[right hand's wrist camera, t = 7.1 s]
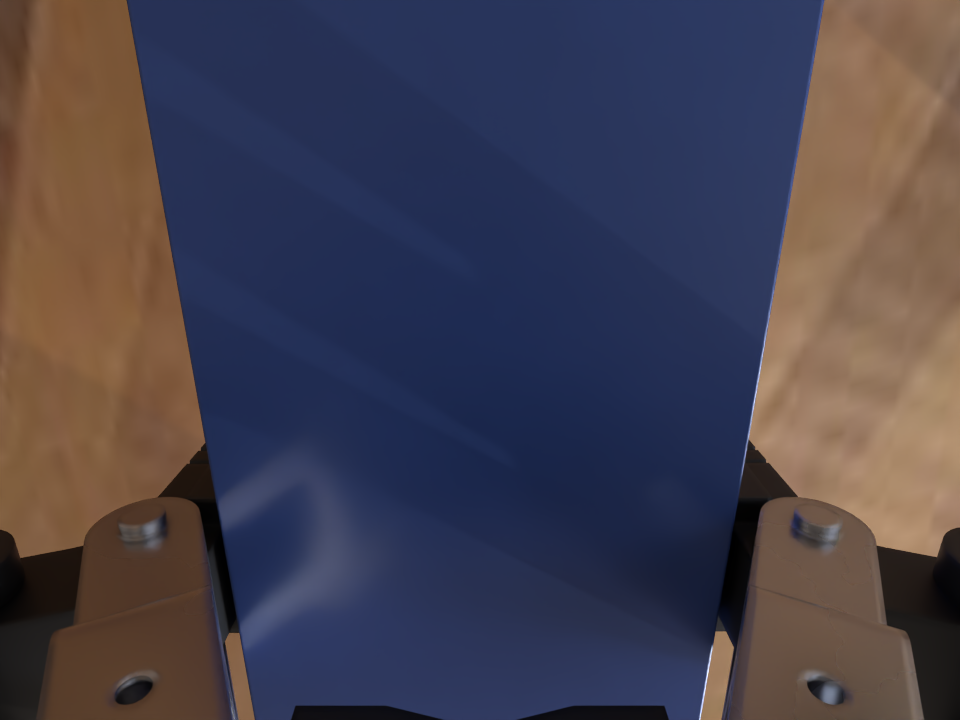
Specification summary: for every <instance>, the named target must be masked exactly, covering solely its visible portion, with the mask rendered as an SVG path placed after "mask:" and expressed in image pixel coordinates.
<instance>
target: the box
mask: <svg viewBox="0 0 960 720" xmlns="http://www.w3.org/2000/svg"><path fill="white" fill-rule="evenodd" d="M127 4H128V10H129V16H130V21H131V27H132V33H133V38H134V44H135V49H136V55H137V61H138V66H139V72H140V77H141V83H142V89H143V94H144V100H145V105H146V111H147V117H148V122H149V128H150V134H151V139H152V145H153V150H154V156H155V162H156V167H157V173H158V178H159V184H160V190H161V195H162V201H163V206H164V212H165V218H166V223H167V229H168V235H169V240H170V246H171V251H172V257H173V263H174V268H175V274H176V279H177V285H178V291H179V296H180V302H181V307H182V313H183V319H184V324H185V330H186V336H187V341H188V347H189V352H190V358H191V364H192V369H193V375H194V380H195V386H196V392H197V397H198V403H199V408H200V414H201V420H202V425H203V431H204V437H205V442H206V448H207V453H208V459H209V465H210V470H211V476H212V481H213V487H214V493H215V498H216V504H217V509H218V515H219V521H220V526H221V532H222V538H223V543H224V549H225V554H226V560H227V566H228V571H229V577H230V582H231V588H232V594H233V599H234V605H235V610H236V616H237V622H238V627H239V633H240V639H241V644H242V650H243V655H244V661H245V667H246V672H247V678H248V683H249V689H250V695H251V700H252V706H253V711H254V717H255V720H291V718H292V715H293V712H294V709H295V706H390V707H394V708H398V709H402V710H406V711H410V712H414V713H418V714H423V715H427V716H431V717H435V718H439V719H443V720H517V719H521V718H525V717H529V716H533V715H537V714H542V713H546V712H550V711H554V710H558V709H562V708H566V707H570V706H665V709H666V712H667V715H668V718H669V720H700V718H701V712H702V706H703V701H704V695H705V689H706V683H707V677H708V672H709V666H710V660H711V654H712V648H713V643H714V637H715V631H716V625H717V619H718V614H719V608H720V602H721V596H722V590H723V585H724V579H725V573H726V567H727V561H728V556H729V550H730V544H731V538H732V532H733V527H734V521H735V515H736V509H737V503H738V498H739V492H740V486H741V480H742V474H743V469H744V463H745V457H746V451H747V445H748V440H749V434H750V428H751V422H752V416H753V411H754V405H755V399H756V393H757V387H758V382H759V376H760V370H761V364H762V358H763V353H764V347H765V341H766V335H767V329H768V324H769V318H770V312H771V306H772V300H773V295H774V289H775V283H776V277H777V271H778V266H779V260H780V254H781V248H782V242H783V237H784V231H785V225H786V219H787V213H788V208H789V202H790V196H791V190H792V184H793V179H794V173H795V167H796V161H797V155H798V150H799V144H800V138H801V132H802V126H803V121H804V115H805V109H806V103H807V97H808V92H809V86H810V80H811V74H812V68H813V63H814V57H815V51H816V45H817V39H818V34H819V28H820V22H821V16H822V10H823V5H824V0H127Z"/></svg>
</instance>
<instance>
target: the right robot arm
mask: <svg viewBox="0 0 960 720" xmlns="http://www.w3.org/2000/svg"><path fill="white" fill-rule="evenodd" d="M716 631H726V632H727V634H728V636H729V638H730V640H731V642H732V644H733V646H734V650H733V656H732V661H731V666H730V672H729V678H728V684H727V690H726V696H725V702H724V708H723V714H722V720H960V528H955V529H952V530H950V531H948V532H947V533H946V534H945V536H944V537H943V540H942V543H941V547H940V550H939V553H938V556H937V557H932V556H927V555H922V554H916V553H911V552H906V551H901V550H895V549H890V548H885V547H880V546H876V540H875V536H874V534H873V533H872V531H871V530H870V529H869V527H868V526H867V525H866V524H865V523H863V522H862V521H861V520H860V519H858V518H857V517H855V516H854V515H852V514H851V513H849V512H847V511H845V510H843V509H841V508H839V507H836V506H834V505H831V504H828V503H825V502H822V501H818V500H813V499H808V498H801V497H798V496H797V495H796V494H795V493H794V492H793V490H792V489H791V488H790V487H789V486H788V485H787V483H786V482H785V481H784V480H783V479H782V478H781V477H780V475H779V474H778V473H777V472H776V471H775V470H774V468H773V467H772V466H771V465H770V464H769V463H766V459H765V458H764V457H763V456H762V455H761V453H760V452H759V451H758V450H755V446H754V445H753V444H752V443H751V442H750V441H749V440H748V445H747V451H746V457H745V463H744V469H743V474H742V480H741V486H740V492H739V498H738V503H737V509H736V515H735V521H734V527H733V532H732V538H731V544H730V550H729V556H728V561H727V567H726V573H725V579H724V585H723V590H722V596H721V602H720V608H719V614H718V619H717V625H716ZM229 633H239V627H238V622H237V616H236V610H235V605H234V599H233V594H232V588H231V582H230V577H229V571H228V566H227V560H226V554H225V549H224V543H223V538H222V532H221V526H220V521H219V515H218V509H217V504H216V498H215V493H214V487H213V481H212V476H211V470H210V465H209V459H208V453H207V448H206V443H205V444H204V445H203V446H202V447H201V451H198V452H197V453H196V454H195V455H194V456H193V458H192V459H191V460H190V464H186V466H185V467H184V468H183V469H182V470H181V471H180V473H179V474H178V475H177V476H176V477H175V478H174V479H173V481H172V482H171V483H170V484H169V485H168V486H167V487H166V489H165V490H164V491H163V492H162V493H161V494H160V495H159V497H158V498H152V499H146V500H142V501H138V502H135V503H132V504H129V505H126V506H124V507H121V508H119V509H117V510H115V511H113V512H111V513H109V514H108V515H106V516H105V517H103V518H102V519H100V520H99V521H98V522H97V523H95V524H94V525H93V526H92V528H91V529H90V530H89V531H88V533H87V534H86V537H85V540H84V546H80V547H76V548H71V549H66V550H61V551H56V552H50V553H45V554H40V555H35V556H30V557H24V558H20V556H19V553H18V550H17V547H16V543H15V540H14V538H13V536H12V535H11V534H9V533H8V532H6V531H3V530H0V720H238V714H237V708H236V702H235V696H234V690H233V684H232V678H231V672H230V666H229V661H228V655H227V650H226V645H225V640H226V638H227V636H228V634H229ZM291 720H443V719H439V718H435V717H431V716H427V715H423V714H418V713H414V712H410V711H406V710H402V709H398V708H394V707H390V706H295V709H294V712H293V715H292V718H291ZM517 720H669V718H668V715H667V712H666V709H665V706H570V707H566V708H562V709H558V710H554V711H550V712H546V713H542V714H537V715H533V716H529V717H525V718H521V719H517Z"/></svg>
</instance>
